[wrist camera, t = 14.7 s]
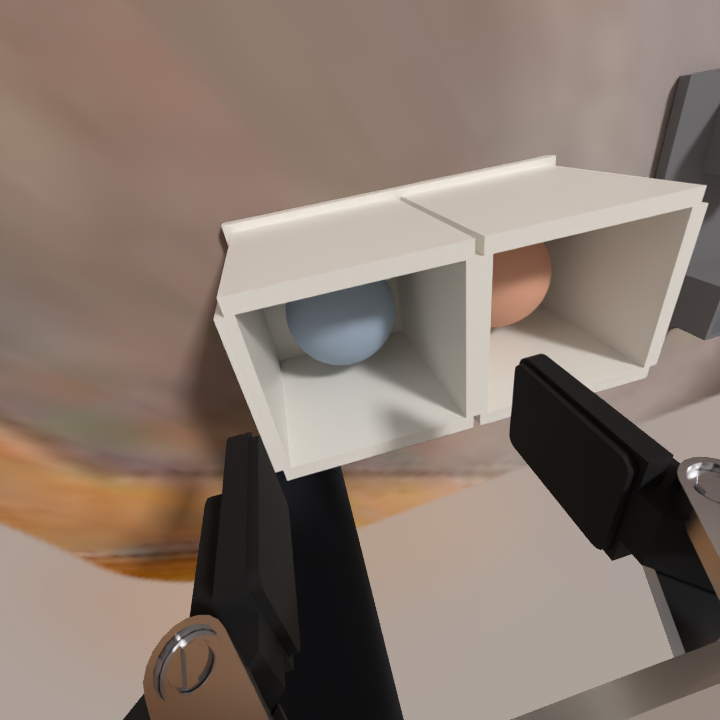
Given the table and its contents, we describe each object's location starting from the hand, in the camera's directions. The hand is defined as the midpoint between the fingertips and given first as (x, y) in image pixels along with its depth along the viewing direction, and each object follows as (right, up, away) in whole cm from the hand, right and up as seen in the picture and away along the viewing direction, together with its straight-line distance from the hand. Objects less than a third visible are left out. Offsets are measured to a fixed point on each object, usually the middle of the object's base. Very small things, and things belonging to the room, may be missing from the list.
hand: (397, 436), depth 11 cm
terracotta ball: (+5, +8, +10) cm, 14 cm away
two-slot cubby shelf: (+1, +7, +10) cm, 12 cm away
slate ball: (-2, +6, +9) cm, 11 cm away
